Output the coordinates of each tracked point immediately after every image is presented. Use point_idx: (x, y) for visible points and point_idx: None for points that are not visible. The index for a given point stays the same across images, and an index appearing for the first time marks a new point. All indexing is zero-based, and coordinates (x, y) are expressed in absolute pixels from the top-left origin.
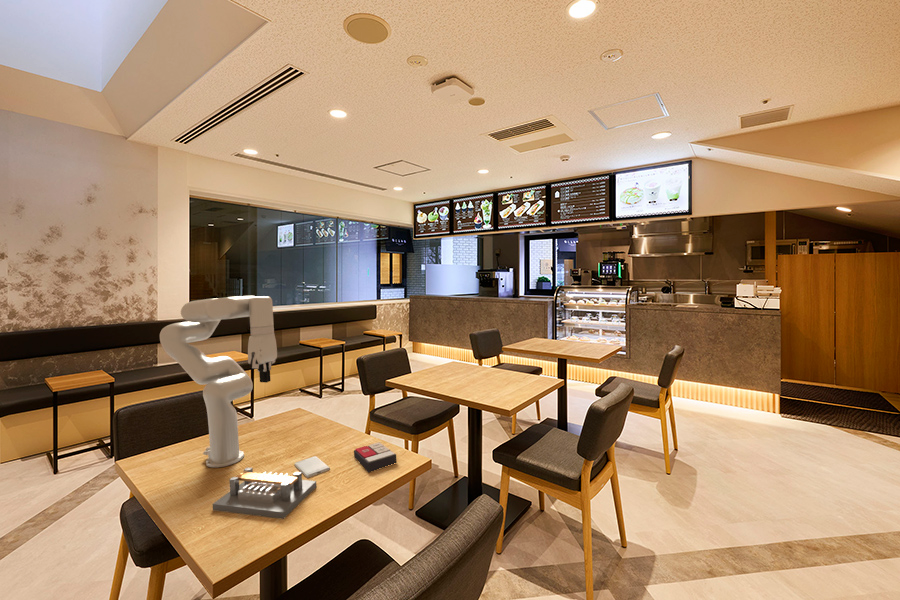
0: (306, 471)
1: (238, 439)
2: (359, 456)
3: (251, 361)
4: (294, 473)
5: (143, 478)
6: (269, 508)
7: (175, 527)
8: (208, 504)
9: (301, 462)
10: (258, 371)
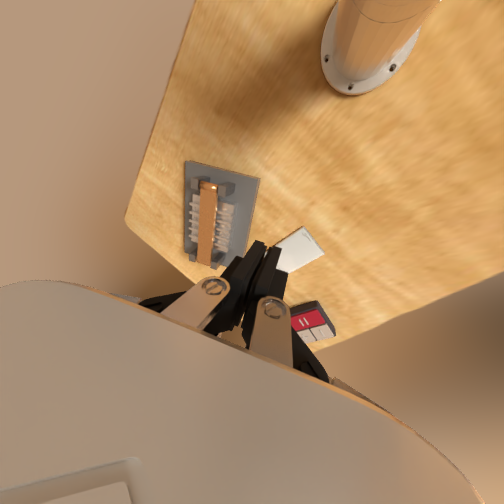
0: None
1: (390, 56)
2: (295, 312)
3: (67, 305)
4: (213, 262)
5: None
6: (187, 237)
7: (157, 132)
8: (201, 143)
9: (303, 237)
10: (212, 277)
